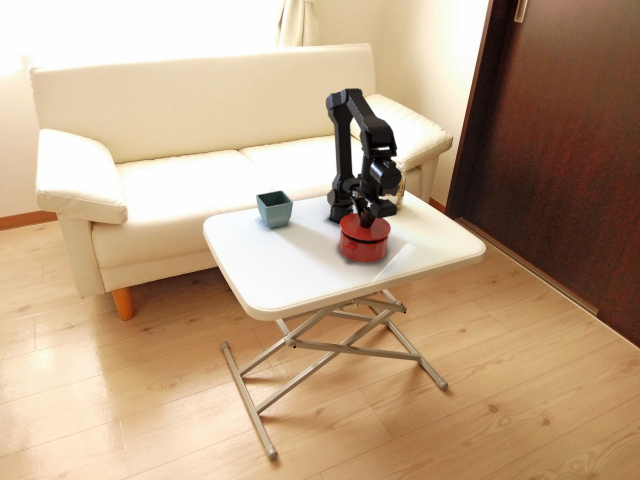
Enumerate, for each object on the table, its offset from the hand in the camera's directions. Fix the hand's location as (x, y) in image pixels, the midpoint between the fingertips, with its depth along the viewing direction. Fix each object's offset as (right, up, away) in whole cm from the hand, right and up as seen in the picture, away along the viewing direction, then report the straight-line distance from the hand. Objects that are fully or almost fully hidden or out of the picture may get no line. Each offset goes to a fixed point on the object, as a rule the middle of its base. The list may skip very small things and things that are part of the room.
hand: (365, 224), depth 126 cm
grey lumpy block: (0, -7, +5) cm, 8 cm away
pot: (0, -8, +5) cm, 9 cm away
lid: (0, -1, +1) cm, 1 cm away
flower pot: (-27, 0, +15) cm, 31 cm away
